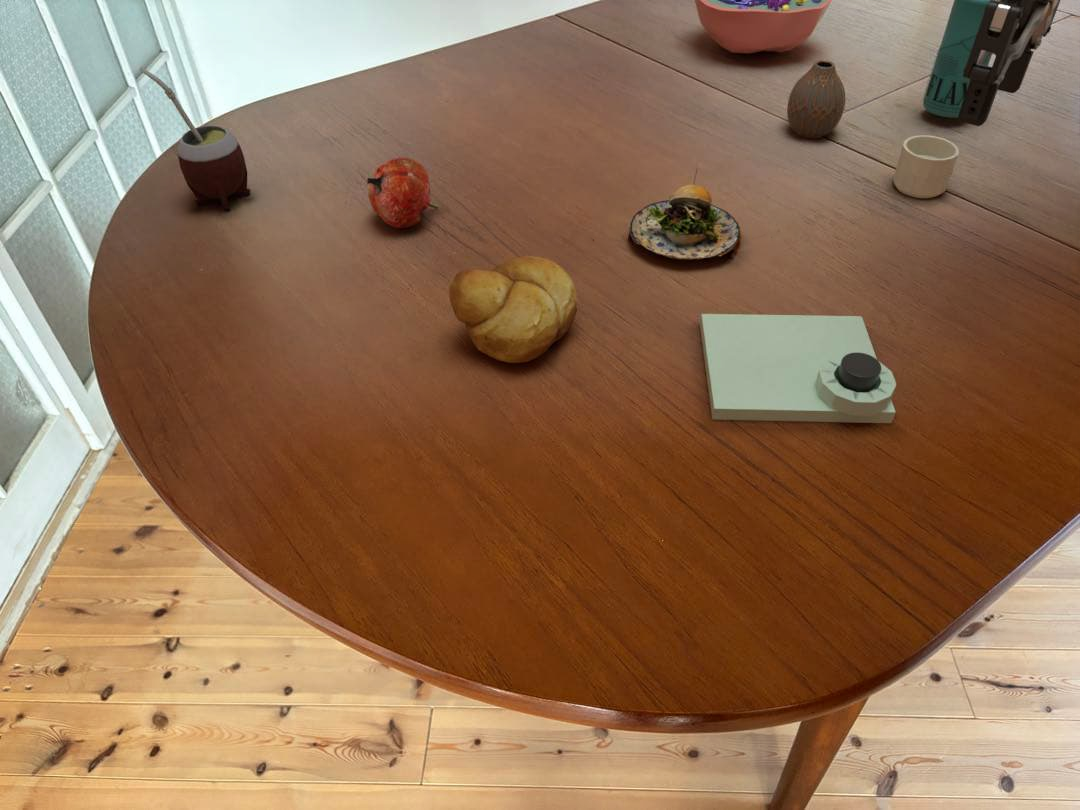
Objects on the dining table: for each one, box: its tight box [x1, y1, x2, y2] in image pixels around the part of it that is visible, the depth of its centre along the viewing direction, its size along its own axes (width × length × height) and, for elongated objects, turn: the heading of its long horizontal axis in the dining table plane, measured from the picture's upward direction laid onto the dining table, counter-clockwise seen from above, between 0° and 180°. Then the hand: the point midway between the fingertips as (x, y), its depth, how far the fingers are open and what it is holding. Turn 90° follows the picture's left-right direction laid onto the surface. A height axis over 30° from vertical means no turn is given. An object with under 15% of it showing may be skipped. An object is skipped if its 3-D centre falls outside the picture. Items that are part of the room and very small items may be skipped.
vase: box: [786, 59, 846, 139], centre depth 108 cm, size 7×7×9 cm
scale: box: [699, 313, 897, 424], centre depth 76 cm, size 15×14×3 cm
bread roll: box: [448, 255, 579, 364], centre depth 79 cm, size 13×10×8 cm
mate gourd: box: [139, 66, 251, 213], centre depth 96 cm, size 8×8×15 cm
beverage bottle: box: [922, 0, 996, 118], centre depth 106 cm, size 6×7×20 cm
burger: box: [627, 168, 742, 261], centre depth 90 cm, size 12×12×8 cm
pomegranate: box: [366, 157, 439, 229], centre depth 95 cm, size 7×7×10 cm
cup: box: [892, 134, 960, 199], centre depth 98 cm, size 6×6×5 cm
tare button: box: [837, 352, 881, 393], centre depth 72 cm, size 3×3×2 cm
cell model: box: [694, 0, 833, 54], centre depth 126 cm, size 17×20×11 cm
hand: (988, 105), depth 77 cm, fingers open, 8 cm apart
